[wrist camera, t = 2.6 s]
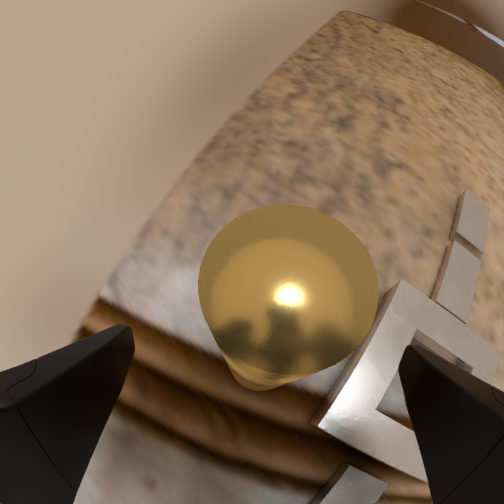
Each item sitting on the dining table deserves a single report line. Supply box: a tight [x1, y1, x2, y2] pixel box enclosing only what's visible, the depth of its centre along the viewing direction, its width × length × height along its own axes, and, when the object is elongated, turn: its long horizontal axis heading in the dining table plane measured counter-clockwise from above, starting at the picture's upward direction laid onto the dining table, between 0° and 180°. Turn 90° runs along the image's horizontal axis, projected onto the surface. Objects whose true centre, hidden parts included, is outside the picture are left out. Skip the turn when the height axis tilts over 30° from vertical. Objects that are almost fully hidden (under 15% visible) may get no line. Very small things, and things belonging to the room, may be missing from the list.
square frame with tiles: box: [308, 190, 501, 504], centre depth 15 cm, size 38×10×2 cm, turn 144°
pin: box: [198, 205, 379, 391], centre depth 11 cm, size 4×4×12 cm
